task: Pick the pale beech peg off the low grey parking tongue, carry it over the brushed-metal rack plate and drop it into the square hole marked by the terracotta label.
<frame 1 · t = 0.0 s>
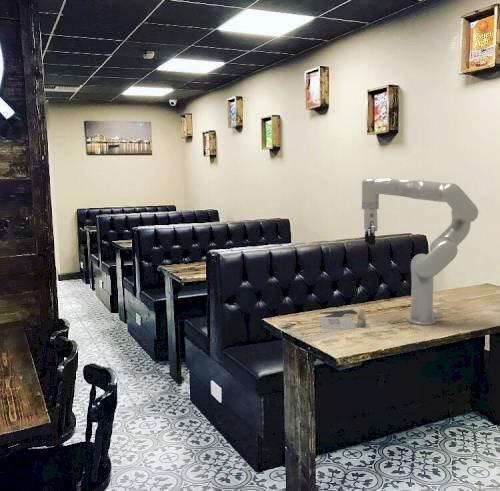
hand: (369, 243, 232), 37 cm above the table, tool pointing down, fingers open, 9 cm apart
peg: (361, 325, 225), point 1 cm above the table, touching rack
rack: (343, 328, 226), on the table
picture frame: (341, 318, 246), on the table
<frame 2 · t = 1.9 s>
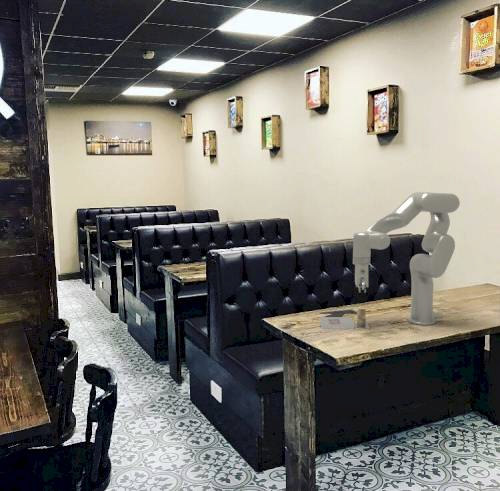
hand: (360, 299, 223), 13 cm above the table, tool pointing down, fingers open, 9 cm apart
nothing on the table moved.
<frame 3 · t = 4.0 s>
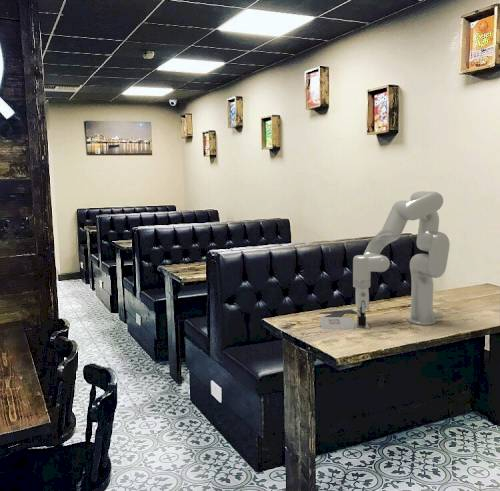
hand: (361, 323, 225), 2 cm above the table, tool pointing down, fingers closed on peg, 3 cm apart
peg: (361, 325, 225), point 1 cm above the table, touching gripper, rack
everything else where it was.
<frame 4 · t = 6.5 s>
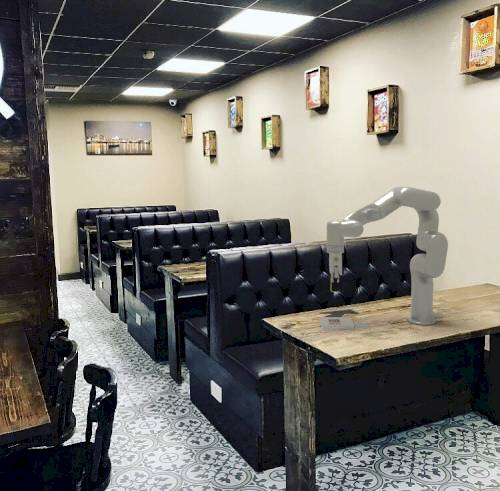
hand: (334, 289, 224), 18 cm above the table, tool pointing down, fingers closed on peg, 3 cm apart
peg: (334, 291, 224), point 17 cm above the table, touching gripper
everything else where it was.
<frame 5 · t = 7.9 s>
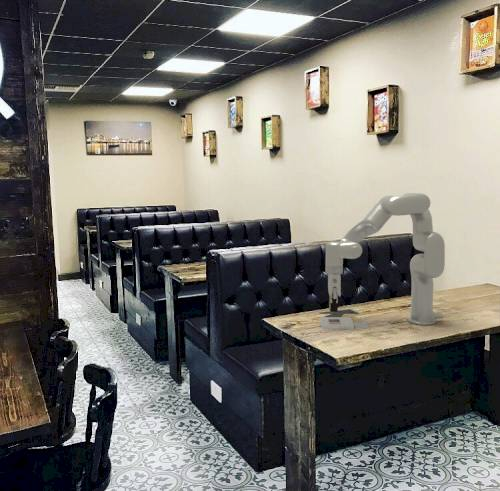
hand: (333, 310, 225), 8 cm above the table, tool pointing down, fingers closed on peg, 3 cm apart
peg: (333, 311, 225), point 8 cm above the table, touching gripper
everything else where it was.
when the fingers open (5 cm above the table, at t = 9.1 s): peg drops 5 cm, resting in rack.
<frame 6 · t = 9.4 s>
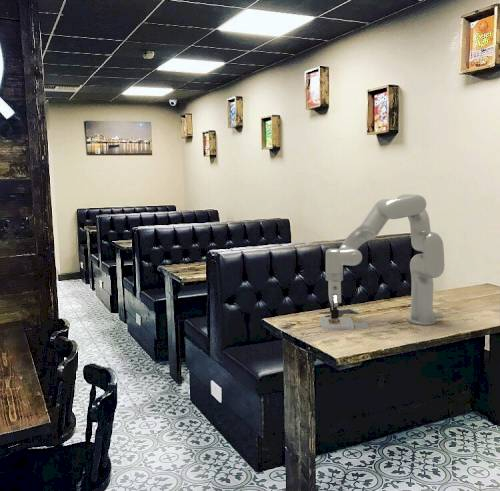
hand: (334, 315, 226), 6 cm above the table, tool pointing down, fingers open, 6 cm apart
peg: (334, 328, 226), resting in rack
everything else where it was.
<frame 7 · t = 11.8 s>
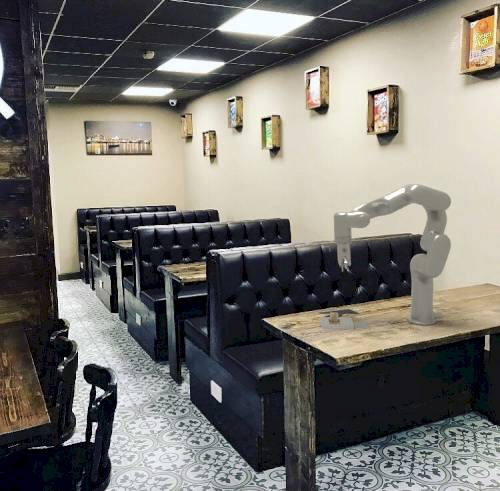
hand: (344, 277, 227), 22 cm above the table, tool pointing down, fingers open, 9 cm apart
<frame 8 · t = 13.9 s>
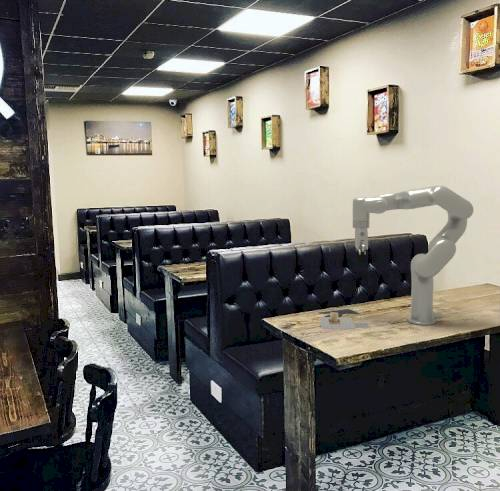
hand: (360, 261, 234), 28 cm above the table, tool pointing down, fingers open, 9 cm apart
at the end: peg 0.0 cm from the target spot on the rack, point 0.0 cm above the rack's base; peg tilted 0°; the gripper is holding nothing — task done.
